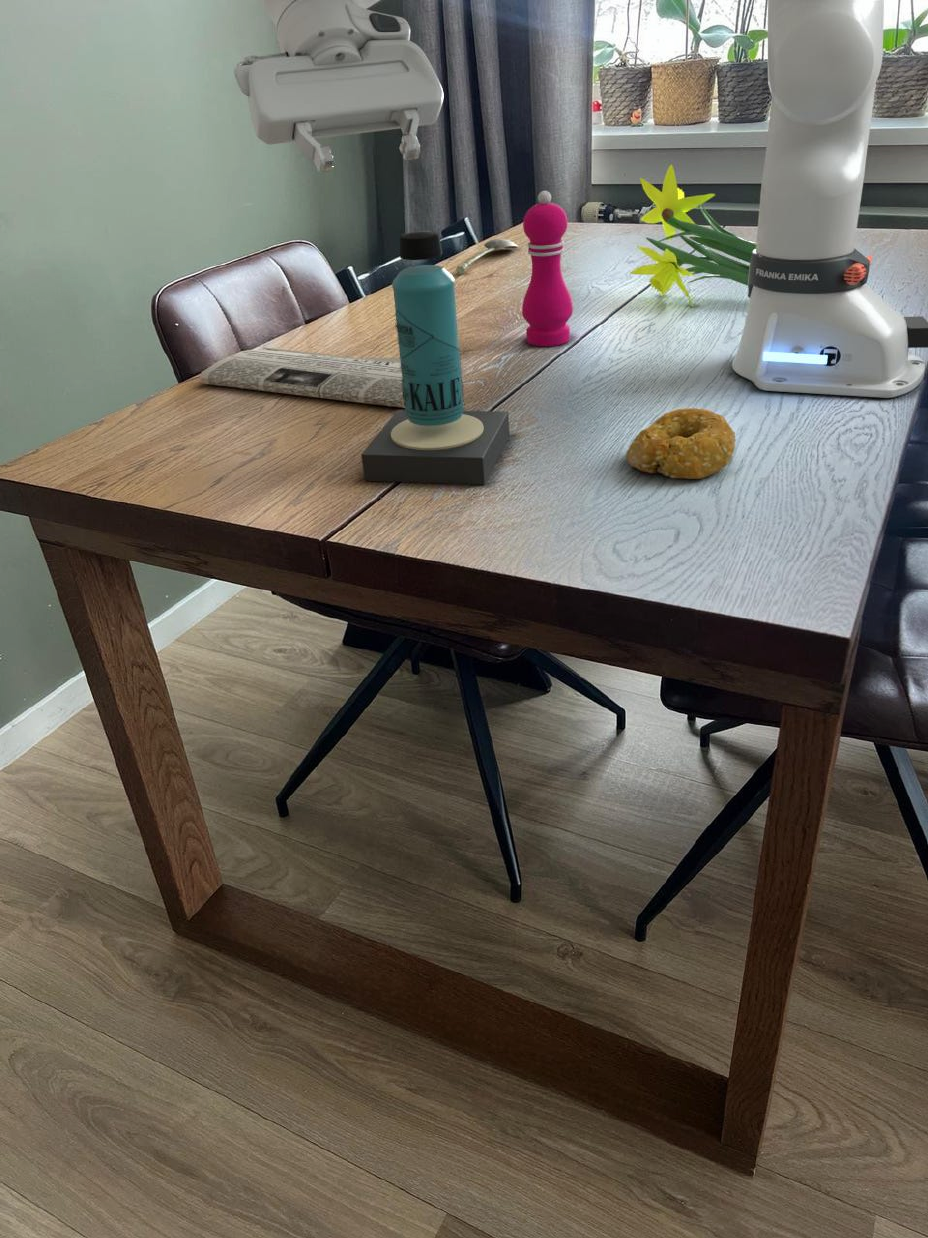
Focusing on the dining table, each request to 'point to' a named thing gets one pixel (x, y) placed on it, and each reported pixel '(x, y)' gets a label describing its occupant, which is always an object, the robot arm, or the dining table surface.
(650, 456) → the bagel
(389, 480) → the display stand
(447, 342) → the beverage bottle
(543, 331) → the pepper mill
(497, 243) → the soupspoon
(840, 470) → the dining table surface
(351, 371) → the newspaper
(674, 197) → the daffodil flowers
